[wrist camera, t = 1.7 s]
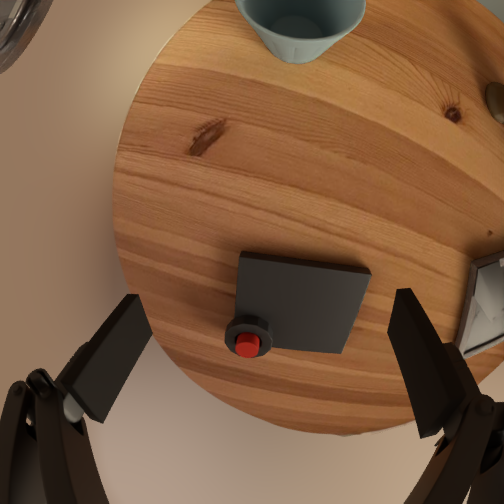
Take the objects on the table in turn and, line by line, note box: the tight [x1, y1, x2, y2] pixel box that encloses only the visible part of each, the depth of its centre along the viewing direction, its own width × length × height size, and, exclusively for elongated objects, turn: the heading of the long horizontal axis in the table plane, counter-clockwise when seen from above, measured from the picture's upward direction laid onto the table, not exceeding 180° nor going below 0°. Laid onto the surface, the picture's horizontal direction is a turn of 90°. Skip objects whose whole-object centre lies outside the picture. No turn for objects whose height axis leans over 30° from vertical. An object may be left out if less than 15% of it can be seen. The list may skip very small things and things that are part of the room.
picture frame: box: [455, 251, 504, 359], centre depth 27 cm, size 13×2×18 cm
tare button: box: [235, 332, 260, 358], centre depth 30 cm, size 3×3×2 cm
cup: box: [235, 0, 366, 64], centre depth 14 cm, size 8×8×10 cm
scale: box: [225, 251, 372, 358], centre depth 30 cm, size 15×13×3 cm
